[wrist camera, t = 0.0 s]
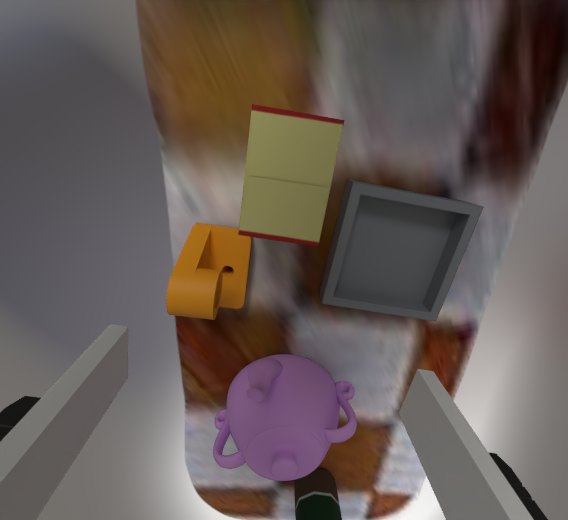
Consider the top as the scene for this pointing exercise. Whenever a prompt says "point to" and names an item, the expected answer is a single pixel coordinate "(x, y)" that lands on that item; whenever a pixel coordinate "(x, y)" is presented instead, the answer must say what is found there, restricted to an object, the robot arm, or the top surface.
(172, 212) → the top surface
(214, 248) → the bracket
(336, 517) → the beer bottle
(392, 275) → the tray
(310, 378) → the teapot
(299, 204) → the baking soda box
